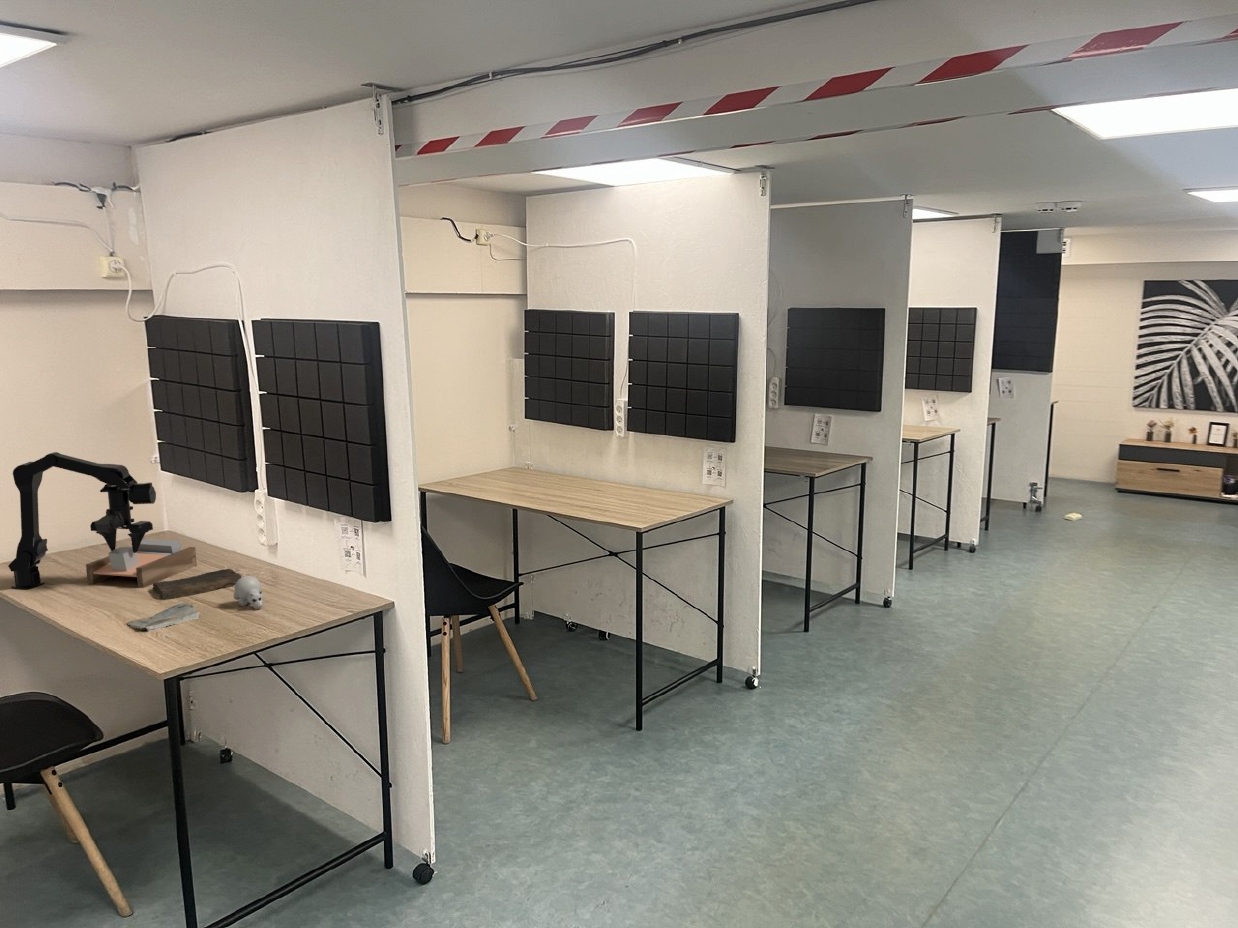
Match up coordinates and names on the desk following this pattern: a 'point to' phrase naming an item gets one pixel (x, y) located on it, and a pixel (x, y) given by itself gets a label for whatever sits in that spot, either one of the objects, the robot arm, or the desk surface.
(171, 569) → the frame
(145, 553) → the trapdoor
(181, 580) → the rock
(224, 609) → the desk surface
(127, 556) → the gray cube
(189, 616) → the fossil rock
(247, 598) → the chubby cartoon animal
